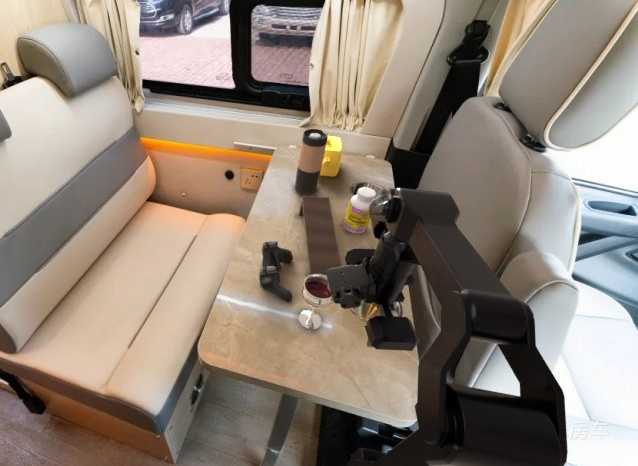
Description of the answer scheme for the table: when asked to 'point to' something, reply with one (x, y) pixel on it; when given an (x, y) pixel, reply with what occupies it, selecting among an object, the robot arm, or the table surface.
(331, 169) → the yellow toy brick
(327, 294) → the wineglass
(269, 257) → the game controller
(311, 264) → the chute
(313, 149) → the travel mug
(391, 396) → the table surface
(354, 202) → the supplement bottle
